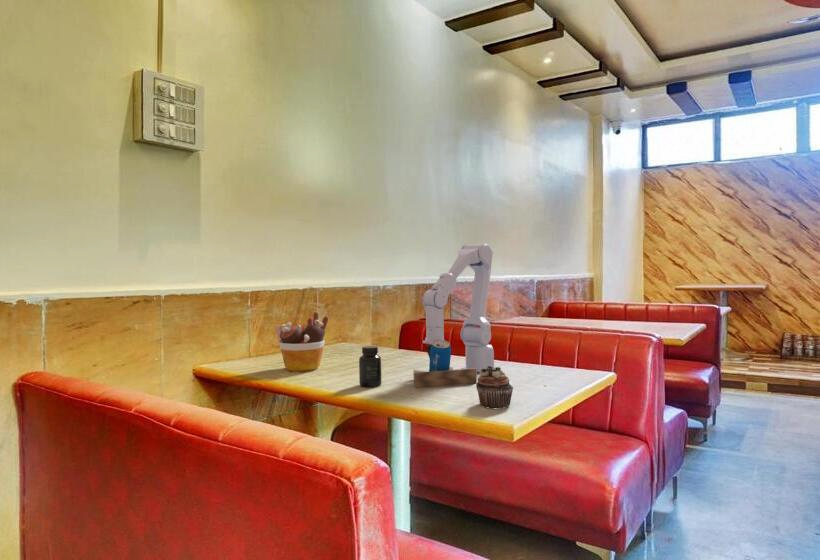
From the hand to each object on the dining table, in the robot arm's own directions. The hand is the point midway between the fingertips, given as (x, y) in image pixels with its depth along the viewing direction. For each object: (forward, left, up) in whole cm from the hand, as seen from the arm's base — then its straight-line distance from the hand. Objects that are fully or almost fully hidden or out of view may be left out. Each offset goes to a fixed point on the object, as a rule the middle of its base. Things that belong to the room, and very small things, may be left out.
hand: (435, 368), depth 177 cm
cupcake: (-4, +36, -4) cm, 36 cm away
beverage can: (0, +3, -3) cm, 4 cm away
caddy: (0, +4, -3) cm, 5 cm away
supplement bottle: (+22, +2, -4) cm, 22 cm away
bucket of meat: (+39, -33, -4) cm, 51 cm away
